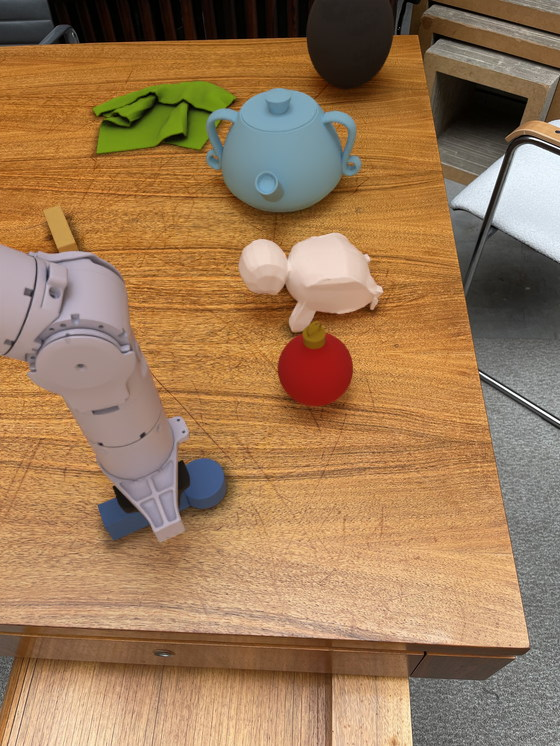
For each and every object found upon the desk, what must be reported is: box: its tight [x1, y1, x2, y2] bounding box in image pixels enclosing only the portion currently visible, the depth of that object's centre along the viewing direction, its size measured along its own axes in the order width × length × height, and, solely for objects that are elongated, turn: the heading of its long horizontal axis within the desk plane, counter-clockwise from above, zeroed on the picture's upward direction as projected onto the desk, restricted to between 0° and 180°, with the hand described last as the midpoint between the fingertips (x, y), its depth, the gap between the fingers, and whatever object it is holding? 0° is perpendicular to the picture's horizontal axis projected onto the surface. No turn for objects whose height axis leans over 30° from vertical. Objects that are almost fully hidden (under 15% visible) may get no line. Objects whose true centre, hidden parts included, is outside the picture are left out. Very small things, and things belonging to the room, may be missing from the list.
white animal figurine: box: [238, 232, 384, 333], centre depth 67 cm, size 9×8×15 cm
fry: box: [42, 204, 80, 253], centre depth 78 cm, size 8×2×2 cm, turn 25°
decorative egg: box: [305, 0, 395, 90], centre depth 91 cm, size 12×12×15 cm
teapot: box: [205, 87, 362, 213], centre depth 76 cm, size 20×20×13 cm
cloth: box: [92, 80, 237, 155], centre depth 93 cm, size 20×22×2 cm
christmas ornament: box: [277, 320, 354, 407], centre depth 59 cm, size 7×7×10 cm
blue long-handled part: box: [97, 457, 228, 542], centre depth 55 cm, size 11×4×3 cm, turn 115°
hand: (161, 499), depth 55 cm, fingers closed on blue long-handled part, 2 cm apart
